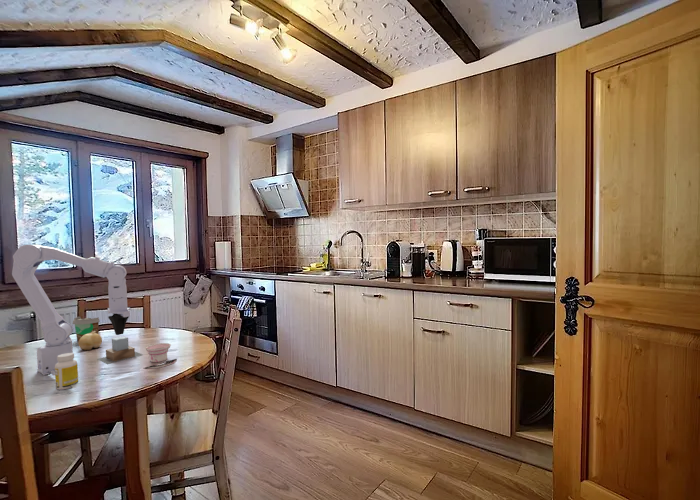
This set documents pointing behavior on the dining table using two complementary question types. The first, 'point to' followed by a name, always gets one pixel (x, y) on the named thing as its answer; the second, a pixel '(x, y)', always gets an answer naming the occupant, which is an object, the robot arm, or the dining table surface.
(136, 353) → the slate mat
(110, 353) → the walnut slab
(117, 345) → the gray cube
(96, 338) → the tan round lump
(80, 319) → the food container
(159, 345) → the teacup
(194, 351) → the dining table surface
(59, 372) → the supplement bottle
